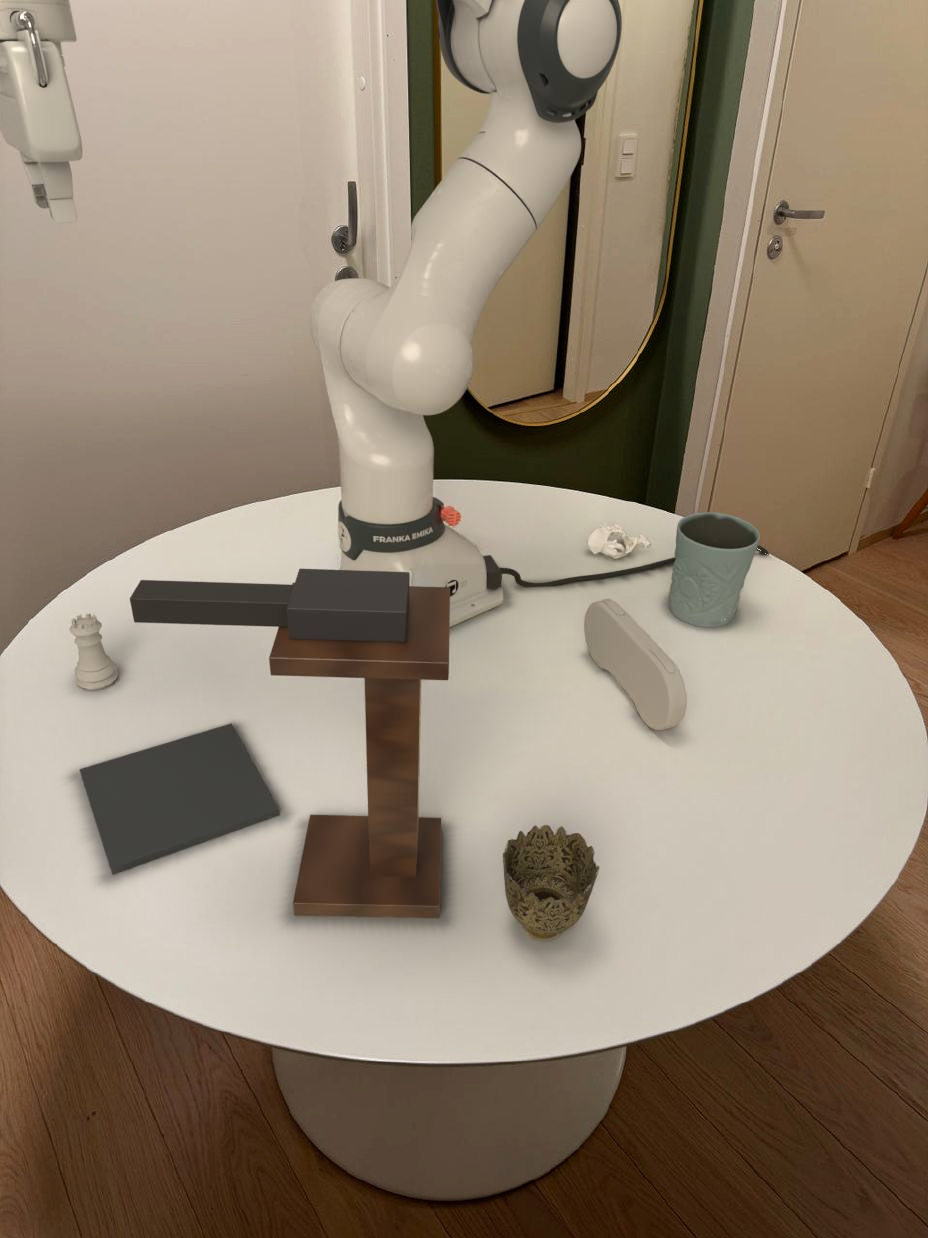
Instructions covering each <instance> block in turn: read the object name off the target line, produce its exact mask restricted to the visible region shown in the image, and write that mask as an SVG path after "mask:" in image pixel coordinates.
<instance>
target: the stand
mask: <svg viewBox="0 0 928 1238" xmlns="http://www.w3.org/2000/svg"><path fill="white" fill-rule="evenodd" d="M294 584H295V582H292V583H291V585H294ZM450 628H451V627H450V588H449V587H421V586H410V595H409V612H408V623H407V635H406V642H378V641H344V640H310V639H290V638H289V628H288V627H277V631H276V634H275V638H274V641H273V644H272V647H271V650H270V654H269V656H268V662H269V673H270V675H271V676H275V677H278V676H279V677H310V678H311V677H313V678H314V677H315V678H343V679H345V678H346V679H347V678H350V679H353V678H354V679H364V713H365V714H364V717H365V718H364V719H365V751H366V753H365V754H366V756H365V757H366V791H367V815H351V814H349V815H344V814H310V815H309V817H308V818H309V819H308V823H307V828H306V833H305V838H304V843H303V849H302V854H301V859H300V865H299V869H298V875H297V880H296V885H295V891H294V895H293V900H292V910H293V916H311V917H312V916H313V917H314V916H318V917H320V916H321V917H357V918H359V917H363V918H364V917H365V918H407V919H408V918H412V919H413V918H414V919H415V918H416V919H440V910H441V908H440V907H441V869H442V867H441V866H442V865H441V863H442V817H430V816H428V817H426V816H420V781H421V780H420V778H421V776H420V775H421V774H420V773H421V727H422V726H421V725H422V724H421V722H422V681H449V678H450V638H451V637H450V635H451V634H450V633H451V632H450V631H451V630H450Z"/></svg>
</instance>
